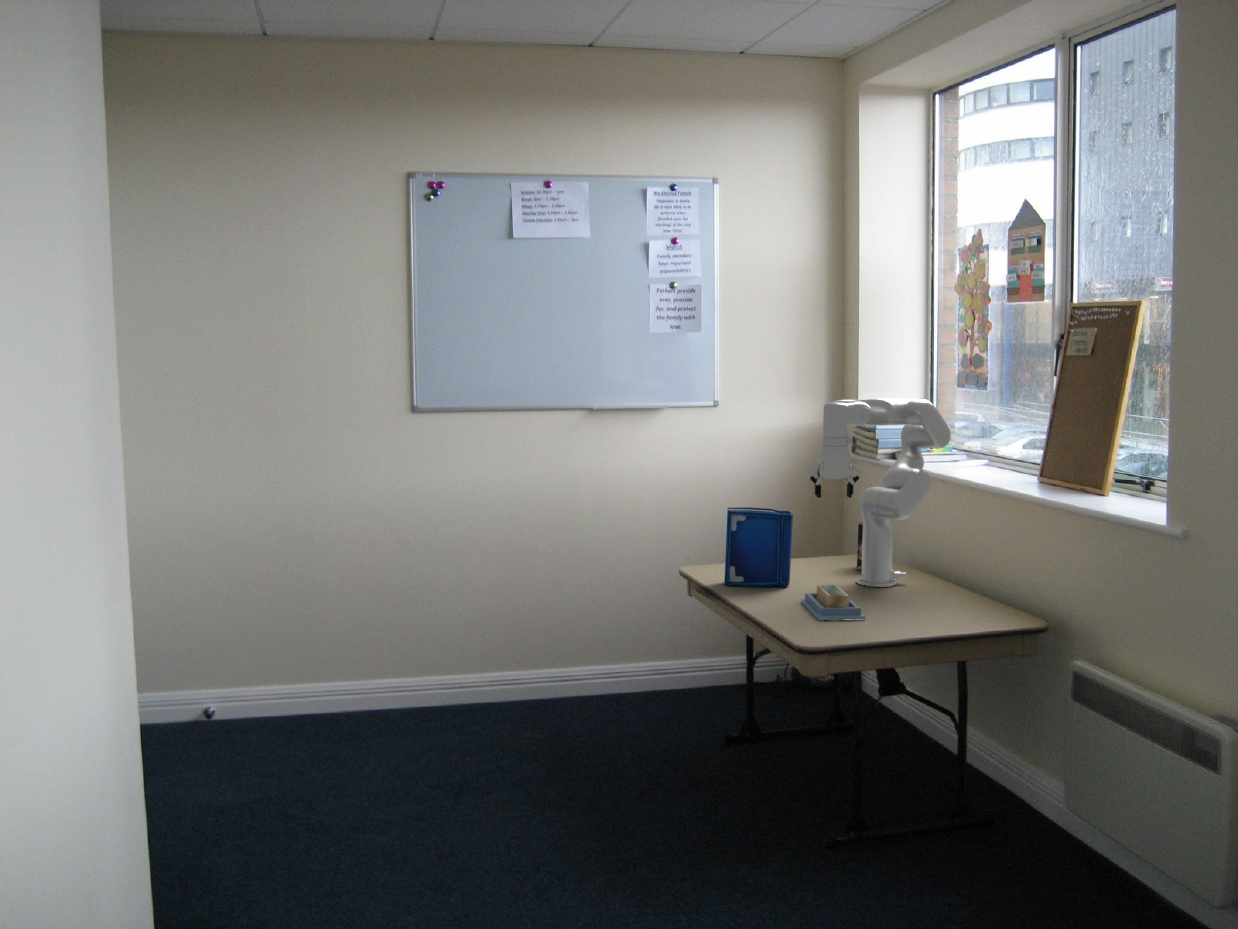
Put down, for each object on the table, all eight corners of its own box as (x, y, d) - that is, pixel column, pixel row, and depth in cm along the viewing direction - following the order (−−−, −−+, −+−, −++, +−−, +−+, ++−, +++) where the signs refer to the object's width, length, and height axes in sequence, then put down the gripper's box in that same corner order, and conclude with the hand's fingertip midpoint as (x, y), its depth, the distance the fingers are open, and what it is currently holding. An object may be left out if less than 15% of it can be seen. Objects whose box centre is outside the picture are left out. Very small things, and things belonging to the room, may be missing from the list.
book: (791, 583, 357) (792, 507, 354) (792, 588, 350) (793, 511, 347) (724, 582, 359) (725, 506, 356) (724, 587, 352) (725, 510, 349)
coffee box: (856, 570, 378) (857, 523, 376) (859, 566, 384) (860, 521, 382) (883, 572, 374) (884, 525, 373) (885, 568, 380) (887, 522, 379)
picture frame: (836, 601, 328) (836, 584, 327) (848, 612, 314) (849, 595, 313) (816, 601, 327) (817, 584, 327) (827, 613, 313) (828, 595, 313)
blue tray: (843, 601, 332) (843, 591, 332) (864, 620, 310) (865, 609, 310) (801, 602, 331) (801, 592, 331) (819, 621, 309) (819, 610, 309)
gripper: (859, 441, 343) (857, 495, 345) (804, 441, 341) (803, 495, 343) (866, 443, 335) (864, 498, 337) (810, 443, 334) (809, 499, 336)
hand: (833, 497), depth 340 cm, fingers open, 9 cm apart
